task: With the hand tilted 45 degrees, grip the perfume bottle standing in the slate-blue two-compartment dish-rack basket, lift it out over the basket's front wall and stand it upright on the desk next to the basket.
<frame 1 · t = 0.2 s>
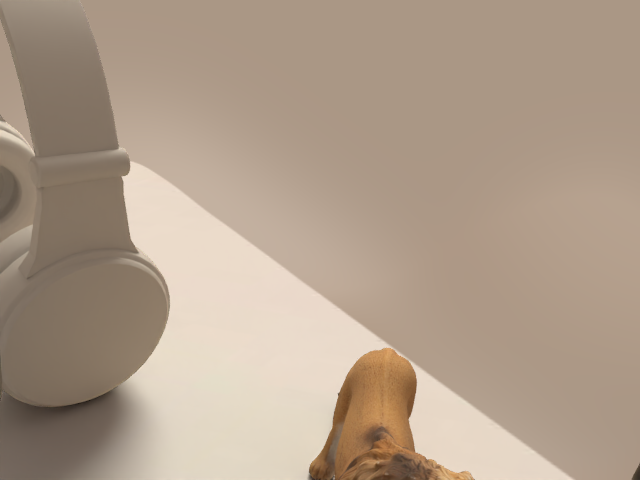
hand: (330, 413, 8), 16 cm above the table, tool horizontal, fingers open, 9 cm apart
headphones: (19, 304, 35), on the table
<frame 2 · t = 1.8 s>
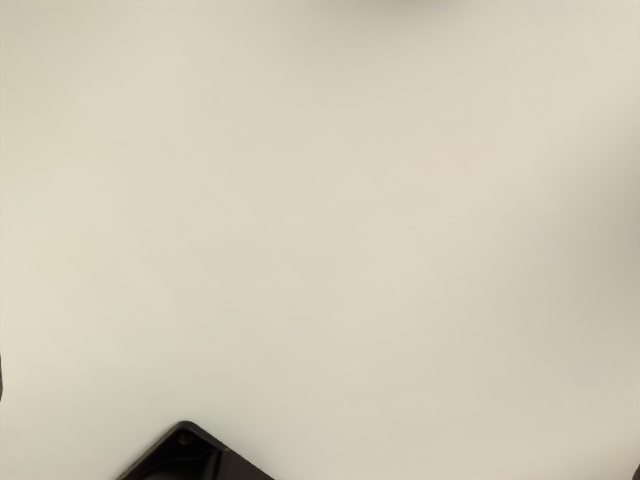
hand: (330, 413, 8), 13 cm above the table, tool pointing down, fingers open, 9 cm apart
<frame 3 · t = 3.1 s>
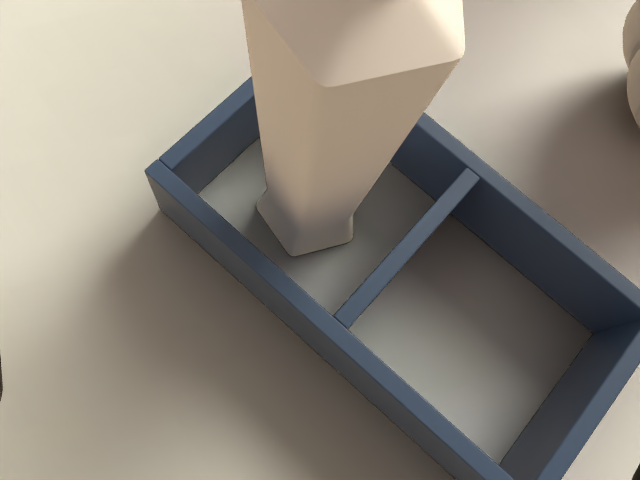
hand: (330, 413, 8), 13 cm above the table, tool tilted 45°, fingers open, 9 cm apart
rack basket: (388, 271, 23), on the table
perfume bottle: (313, 207, 24), resting in rack basket
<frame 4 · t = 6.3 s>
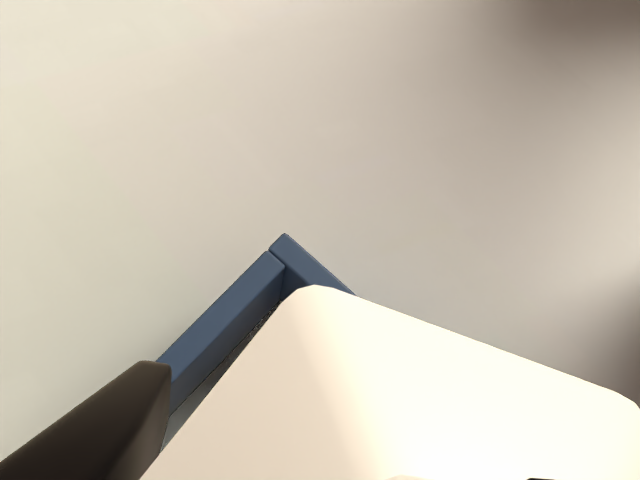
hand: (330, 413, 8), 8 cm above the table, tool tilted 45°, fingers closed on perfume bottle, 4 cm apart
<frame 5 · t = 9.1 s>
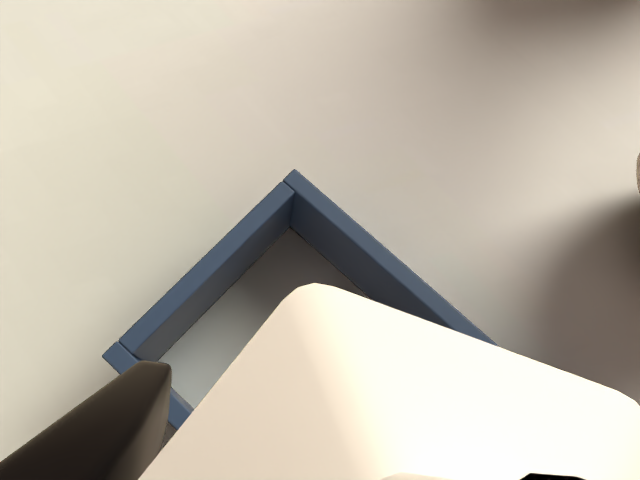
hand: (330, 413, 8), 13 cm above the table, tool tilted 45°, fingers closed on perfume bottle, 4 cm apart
rack basket: (377, 436, 21), on the table
when the fingers open (8 cm above the table, at t = 12.4 s): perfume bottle stays where it is, on the table.
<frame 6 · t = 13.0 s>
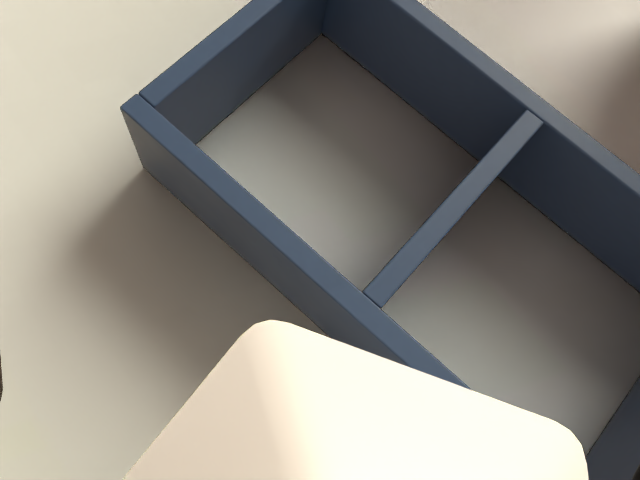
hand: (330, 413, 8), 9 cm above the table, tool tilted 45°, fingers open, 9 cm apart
rack basket: (423, 244, 19), on the table
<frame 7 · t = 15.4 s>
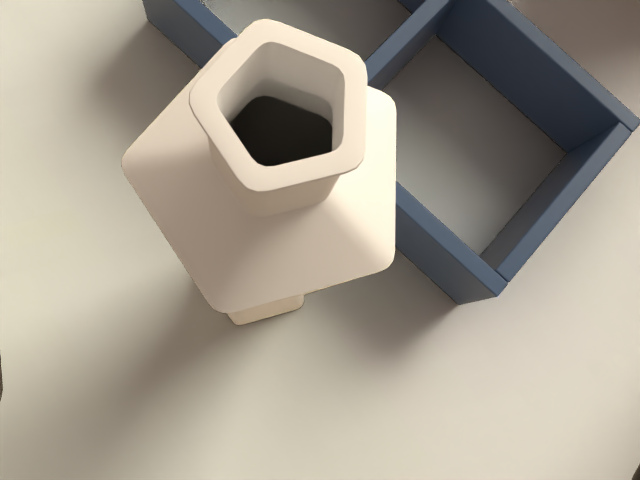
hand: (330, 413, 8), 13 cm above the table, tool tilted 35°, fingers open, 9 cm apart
rack basket: (372, 88, 24), on the table
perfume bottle: (261, 268, 22), on the table
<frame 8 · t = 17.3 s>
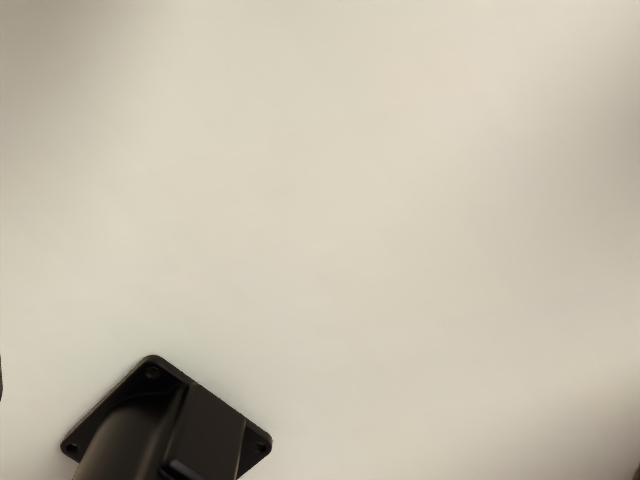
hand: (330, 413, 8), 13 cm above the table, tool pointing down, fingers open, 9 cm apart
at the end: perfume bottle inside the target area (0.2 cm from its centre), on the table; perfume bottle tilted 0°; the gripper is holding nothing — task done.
